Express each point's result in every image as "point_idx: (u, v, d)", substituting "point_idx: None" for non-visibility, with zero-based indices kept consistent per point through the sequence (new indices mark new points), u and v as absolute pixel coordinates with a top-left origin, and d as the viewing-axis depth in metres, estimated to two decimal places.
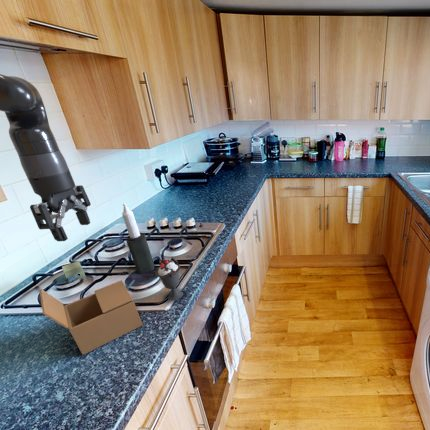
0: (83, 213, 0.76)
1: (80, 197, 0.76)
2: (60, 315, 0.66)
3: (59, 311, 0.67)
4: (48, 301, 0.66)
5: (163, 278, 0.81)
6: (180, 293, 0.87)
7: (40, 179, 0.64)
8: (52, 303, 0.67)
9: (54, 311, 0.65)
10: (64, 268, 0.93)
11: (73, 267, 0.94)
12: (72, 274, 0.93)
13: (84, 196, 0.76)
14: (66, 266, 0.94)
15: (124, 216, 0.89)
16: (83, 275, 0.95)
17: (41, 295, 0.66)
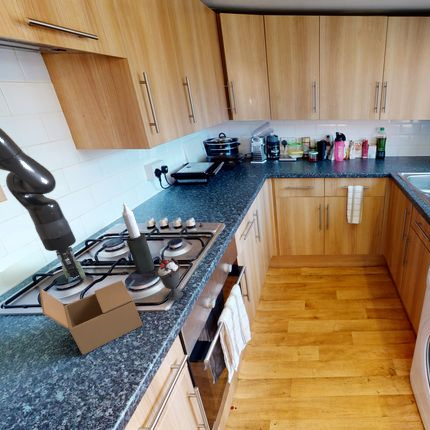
0: None
1: None
2: (60, 315, 0.66)
3: (59, 311, 0.67)
4: (48, 301, 0.66)
5: (163, 278, 0.81)
6: (180, 293, 0.87)
7: (61, 237, 0.87)
8: (52, 303, 0.67)
9: (54, 311, 0.65)
10: (64, 268, 0.93)
11: (73, 267, 0.94)
12: None
13: None
14: None
15: (124, 216, 0.89)
16: (83, 275, 0.95)
17: (41, 295, 0.66)
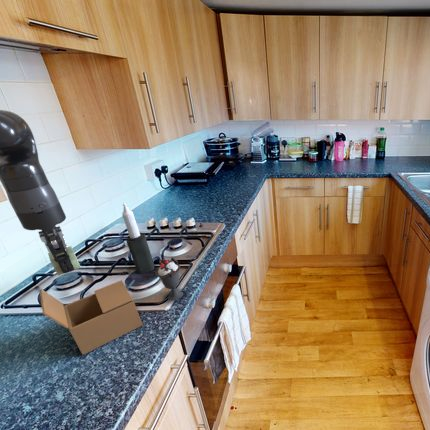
0: None
1: None
2: (60, 315, 0.66)
3: (59, 311, 0.67)
4: (48, 301, 0.66)
5: (163, 278, 0.81)
6: (180, 293, 0.87)
7: (45, 211, 0.63)
8: (52, 303, 0.67)
9: (54, 311, 0.65)
10: (51, 255, 0.69)
11: None
12: None
13: None
14: None
15: (124, 216, 0.89)
16: (77, 265, 0.71)
17: (41, 295, 0.66)
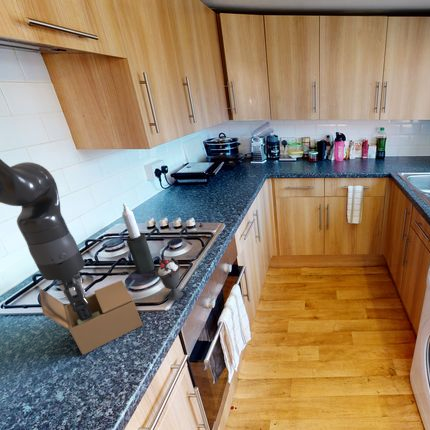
0: (80, 289, 0.72)
1: None
2: (60, 315, 0.66)
3: (59, 311, 0.67)
4: (48, 301, 0.66)
5: (163, 278, 0.81)
6: (180, 293, 0.87)
7: (65, 262, 0.62)
8: (52, 303, 0.67)
9: (54, 311, 0.65)
10: (80, 323, 0.71)
11: None
12: None
13: None
14: None
15: (124, 216, 0.89)
16: None
17: (41, 295, 0.66)
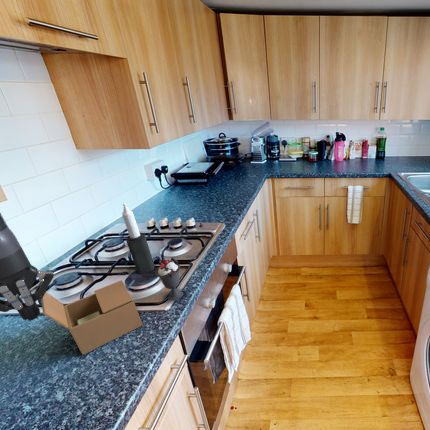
0: (27, 307, 0.62)
1: (40, 285, 0.63)
2: (60, 315, 0.66)
3: (59, 311, 0.67)
4: (48, 301, 0.66)
5: (163, 278, 0.81)
6: (180, 293, 0.87)
7: None
8: (52, 303, 0.67)
9: (54, 311, 0.65)
10: (80, 323, 0.71)
11: None
12: None
13: (42, 286, 0.62)
14: (83, 320, 0.72)
15: (124, 216, 0.89)
16: None
17: None
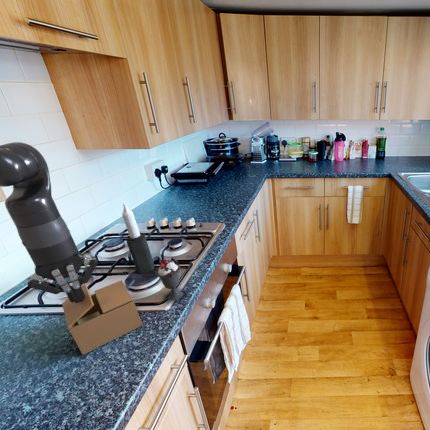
0: (74, 291, 0.67)
1: (86, 270, 0.68)
2: None
3: None
4: None
5: (163, 278, 0.81)
6: (180, 293, 0.87)
7: (26, 249, 0.59)
8: None
9: None
10: (80, 323, 0.71)
11: None
12: None
13: (88, 271, 0.68)
14: (83, 320, 0.72)
15: (124, 216, 0.89)
16: None
17: (87, 289, 0.72)
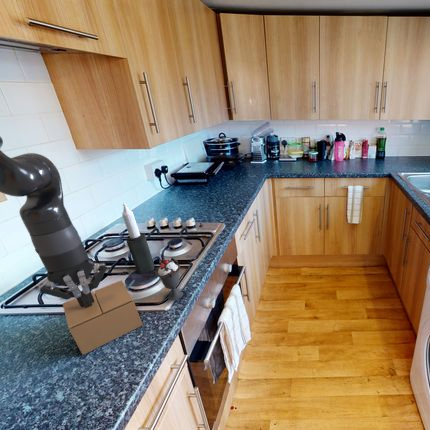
0: None
1: (95, 275, 0.70)
2: None
3: None
4: None
5: (163, 278, 0.81)
6: (180, 293, 0.87)
7: (39, 256, 0.61)
8: None
9: None
10: (80, 323, 0.71)
11: None
12: None
13: (97, 276, 0.69)
14: None
15: (124, 216, 0.89)
16: None
17: (95, 297, 0.74)
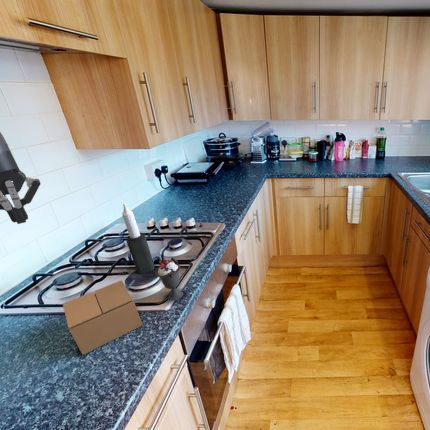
0: (15, 210, 0.67)
1: (28, 190, 0.68)
2: None
3: None
4: None
5: (163, 278, 0.81)
6: (180, 293, 0.87)
7: None
8: None
9: None
10: None
11: None
12: None
13: (30, 191, 0.67)
14: None
15: (124, 216, 0.89)
16: None
17: (95, 297, 0.74)
